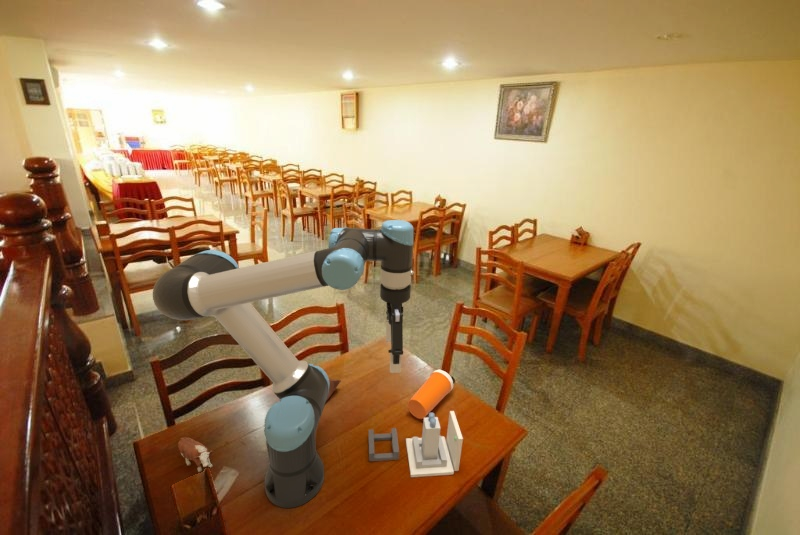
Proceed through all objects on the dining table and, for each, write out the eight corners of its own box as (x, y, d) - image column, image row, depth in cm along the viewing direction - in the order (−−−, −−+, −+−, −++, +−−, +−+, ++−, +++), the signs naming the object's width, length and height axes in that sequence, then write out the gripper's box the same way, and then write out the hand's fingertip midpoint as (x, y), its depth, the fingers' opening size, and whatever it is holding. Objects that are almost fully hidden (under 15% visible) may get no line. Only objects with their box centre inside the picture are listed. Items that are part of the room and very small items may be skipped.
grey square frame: (369, 461, 100) (369, 453, 99) (368, 436, 108) (368, 429, 107) (398, 459, 101) (399, 451, 100) (396, 435, 109) (396, 428, 108)
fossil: (342, 377, 128) (331, 367, 120) (346, 399, 122) (335, 391, 115) (309, 388, 128) (297, 380, 120) (312, 411, 123) (299, 404, 115)
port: (410, 477, 96) (413, 444, 91) (405, 441, 107) (407, 410, 103) (459, 474, 97) (463, 441, 93) (449, 438, 108) (453, 408, 104)
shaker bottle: (431, 408, 109) (460, 375, 125) (408, 391, 113) (438, 361, 128) (424, 426, 114) (452, 392, 129) (402, 410, 117) (432, 378, 133)
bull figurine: (206, 484, 92) (200, 462, 89) (178, 459, 98) (172, 437, 95) (221, 471, 95) (217, 449, 92) (193, 448, 102) (188, 427, 99)
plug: (423, 460, 100) (426, 423, 95) (420, 448, 103) (424, 412, 98) (437, 460, 100) (441, 422, 95) (434, 448, 104) (438, 411, 99)
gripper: (418, 307, 75) (413, 386, 83) (404, 265, 98) (401, 330, 106) (383, 308, 74) (381, 388, 82) (378, 265, 97) (376, 330, 105)
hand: (392, 355), depth 94 cm, fingers open, 13 cm apart
